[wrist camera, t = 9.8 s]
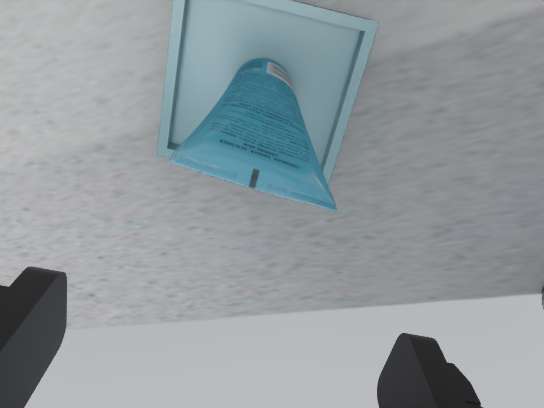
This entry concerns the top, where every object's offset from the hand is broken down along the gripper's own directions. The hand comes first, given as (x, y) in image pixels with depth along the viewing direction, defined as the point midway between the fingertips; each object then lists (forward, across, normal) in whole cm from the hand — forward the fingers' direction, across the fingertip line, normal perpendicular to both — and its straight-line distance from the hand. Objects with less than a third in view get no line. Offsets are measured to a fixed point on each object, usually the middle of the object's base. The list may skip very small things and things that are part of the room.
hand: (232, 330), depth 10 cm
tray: (+28, 0, 0) cm, 28 cm away
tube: (+28, 0, 0) cm, 28 cm away
